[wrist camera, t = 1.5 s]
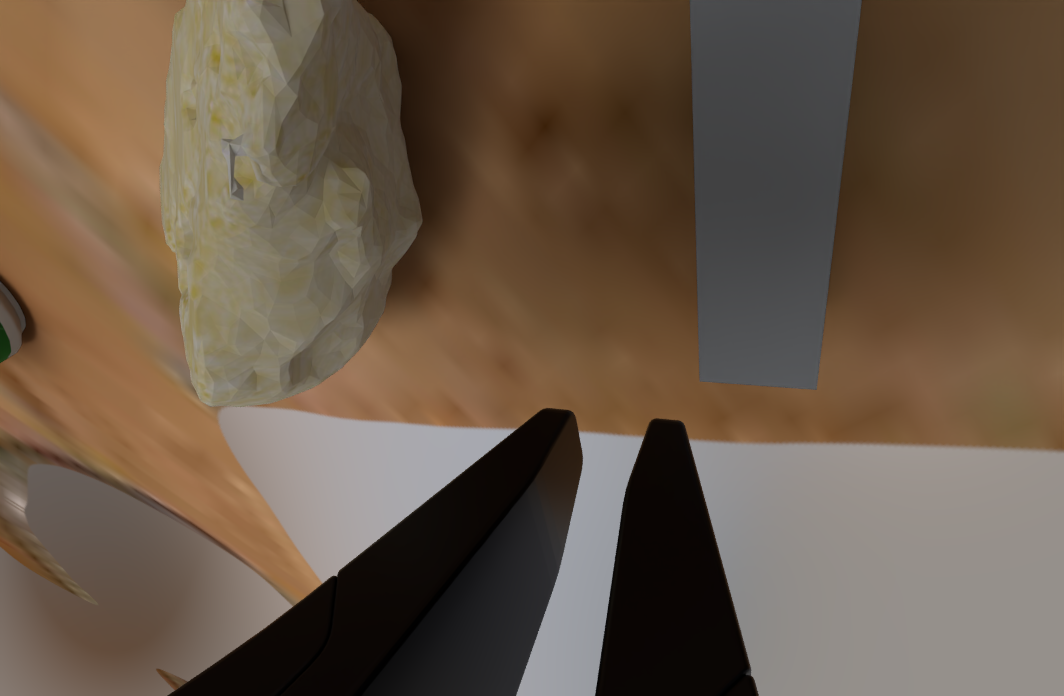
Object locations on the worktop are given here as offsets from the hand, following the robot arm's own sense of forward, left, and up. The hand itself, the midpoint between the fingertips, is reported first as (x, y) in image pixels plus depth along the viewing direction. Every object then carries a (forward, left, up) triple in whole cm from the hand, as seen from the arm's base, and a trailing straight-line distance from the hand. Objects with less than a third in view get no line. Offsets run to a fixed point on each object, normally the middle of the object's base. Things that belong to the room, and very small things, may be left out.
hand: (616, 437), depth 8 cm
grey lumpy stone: (+12, -3, -12) cm, 17 cm away
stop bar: (-2, 0, -12) cm, 12 cm away
